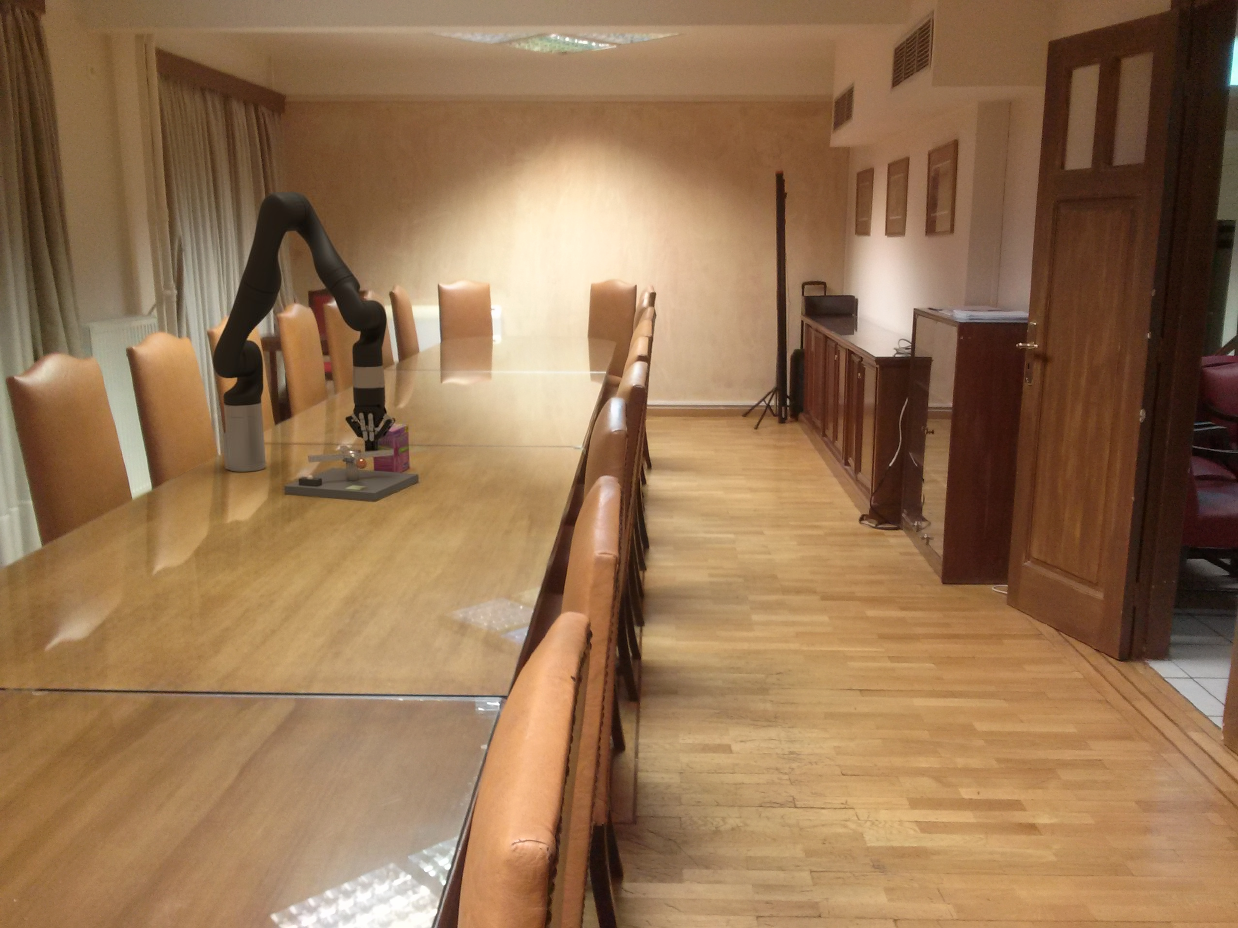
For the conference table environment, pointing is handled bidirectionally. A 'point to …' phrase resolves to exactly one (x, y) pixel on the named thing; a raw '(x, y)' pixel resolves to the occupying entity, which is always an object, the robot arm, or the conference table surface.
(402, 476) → the stand
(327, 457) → the capstan
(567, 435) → the conference table surface
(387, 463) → the box
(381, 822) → the conference table surface
